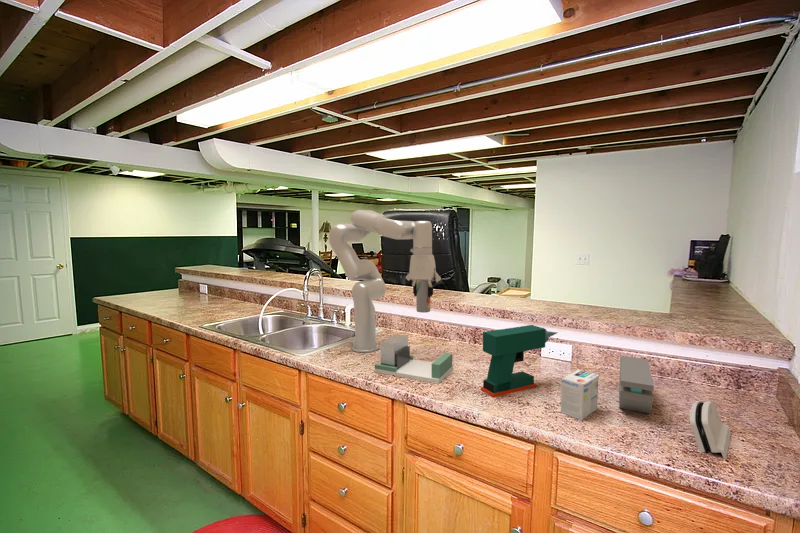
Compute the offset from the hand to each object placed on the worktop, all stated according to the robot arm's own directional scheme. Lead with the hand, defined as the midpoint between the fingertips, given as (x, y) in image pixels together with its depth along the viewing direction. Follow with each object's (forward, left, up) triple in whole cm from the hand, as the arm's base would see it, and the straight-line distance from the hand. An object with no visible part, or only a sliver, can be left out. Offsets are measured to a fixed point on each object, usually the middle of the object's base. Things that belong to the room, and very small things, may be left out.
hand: (423, 295), depth 155 cm
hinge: (+89, -23, -28) cm, 96 cm away
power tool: (+41, -7, -28) cm, 50 cm away
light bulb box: (+59, -20, -28) cm, 68 cm away
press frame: (+1, -11, -28) cm, 30 cm away
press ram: (-7, -11, -26) cm, 29 cm away
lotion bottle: (0, 0, -7) cm, 7 cm away
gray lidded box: (+74, -7, -28) cm, 79 cm away
